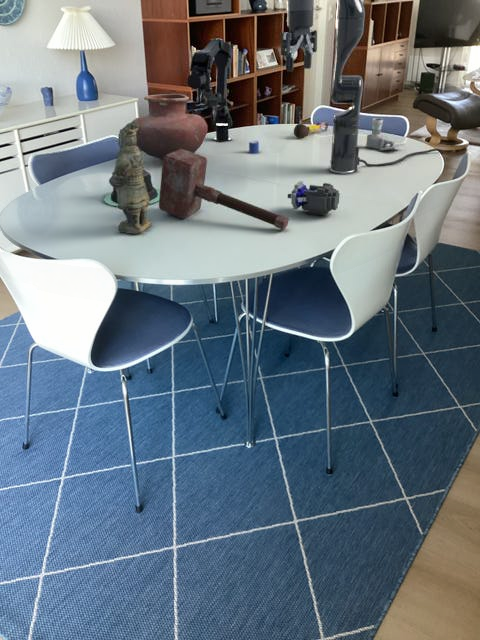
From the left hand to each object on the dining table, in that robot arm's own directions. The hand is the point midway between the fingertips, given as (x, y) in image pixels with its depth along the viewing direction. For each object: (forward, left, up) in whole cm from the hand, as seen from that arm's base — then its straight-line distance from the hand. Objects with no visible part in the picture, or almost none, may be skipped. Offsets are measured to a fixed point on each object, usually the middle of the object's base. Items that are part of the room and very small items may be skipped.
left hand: (205, 124), depth 237 cm
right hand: (+71, -3, +28) cm, 76 cm away
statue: (+73, -61, -11) cm, 95 cm away
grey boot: (+42, +64, -11) cm, 77 cm away
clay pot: (+7, -20, -11) cm, 24 cm away
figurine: (0, +55, -11) cm, 56 cm away
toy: (+90, -9, -11) cm, 91 cm away
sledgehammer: (+81, -35, -11) cm, 89 cm away
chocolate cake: (+45, -50, -11) cm, 68 cm away
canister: (+15, +15, -11) cm, 24 cm away
